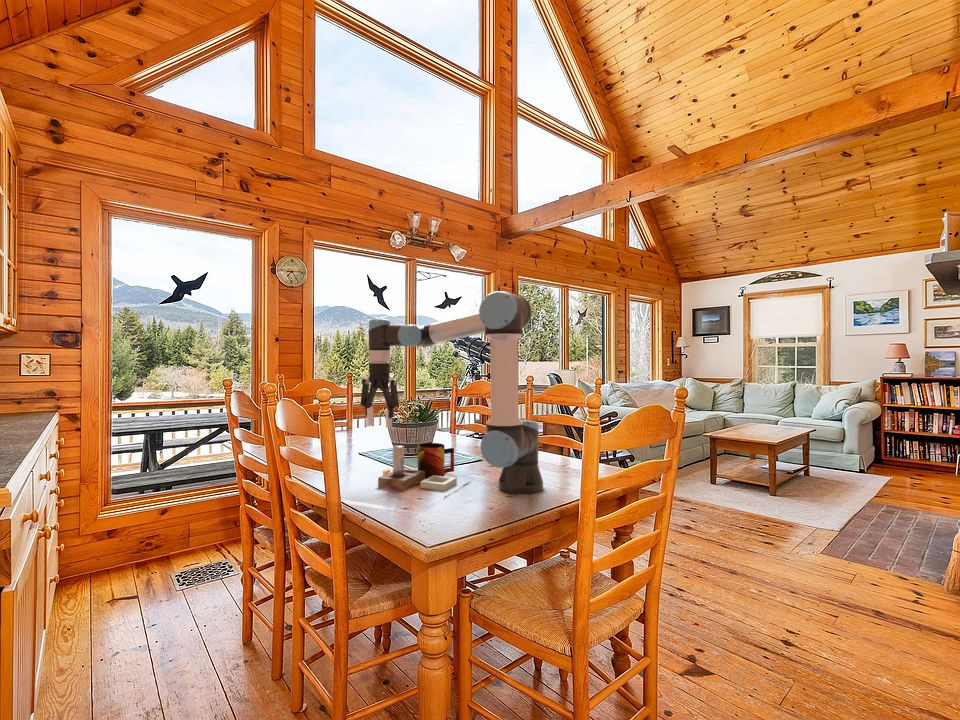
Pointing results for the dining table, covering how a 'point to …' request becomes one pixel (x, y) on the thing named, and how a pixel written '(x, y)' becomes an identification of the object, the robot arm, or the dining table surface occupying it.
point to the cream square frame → (438, 482)
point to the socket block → (401, 479)
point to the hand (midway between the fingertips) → (379, 426)
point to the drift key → (386, 471)
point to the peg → (398, 461)
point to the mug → (434, 459)
